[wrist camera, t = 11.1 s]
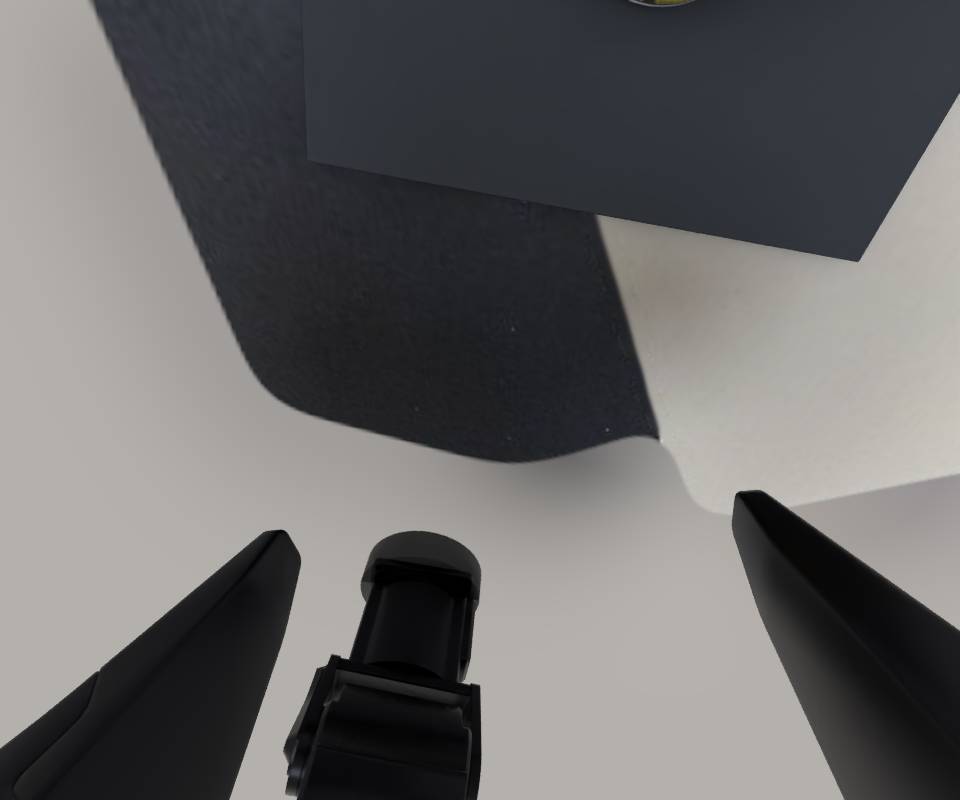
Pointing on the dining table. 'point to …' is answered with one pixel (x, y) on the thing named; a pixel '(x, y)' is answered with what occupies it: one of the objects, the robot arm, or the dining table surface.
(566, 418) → the dining table surface
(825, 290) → the dining table surface
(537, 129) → the left mat
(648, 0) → the pill bottle
